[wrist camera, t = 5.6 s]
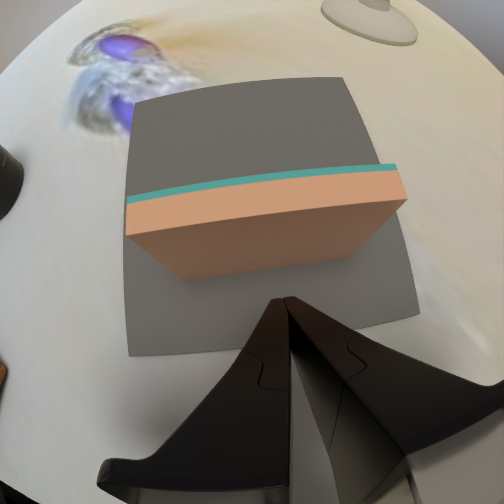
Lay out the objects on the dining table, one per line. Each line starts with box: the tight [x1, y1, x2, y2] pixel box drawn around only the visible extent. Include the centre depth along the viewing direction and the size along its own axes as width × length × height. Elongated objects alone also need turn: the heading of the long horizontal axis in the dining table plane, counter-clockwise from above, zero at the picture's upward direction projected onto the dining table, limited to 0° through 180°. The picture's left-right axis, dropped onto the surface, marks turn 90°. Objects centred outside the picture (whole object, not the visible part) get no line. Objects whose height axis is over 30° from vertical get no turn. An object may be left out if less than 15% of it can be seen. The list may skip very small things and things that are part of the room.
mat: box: [123, 77, 420, 356], centre depth 19 cm, size 20×18×1 cm
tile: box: [126, 164, 408, 280], centre depth 14 cm, size 2×10×8 cm, turn 97°
